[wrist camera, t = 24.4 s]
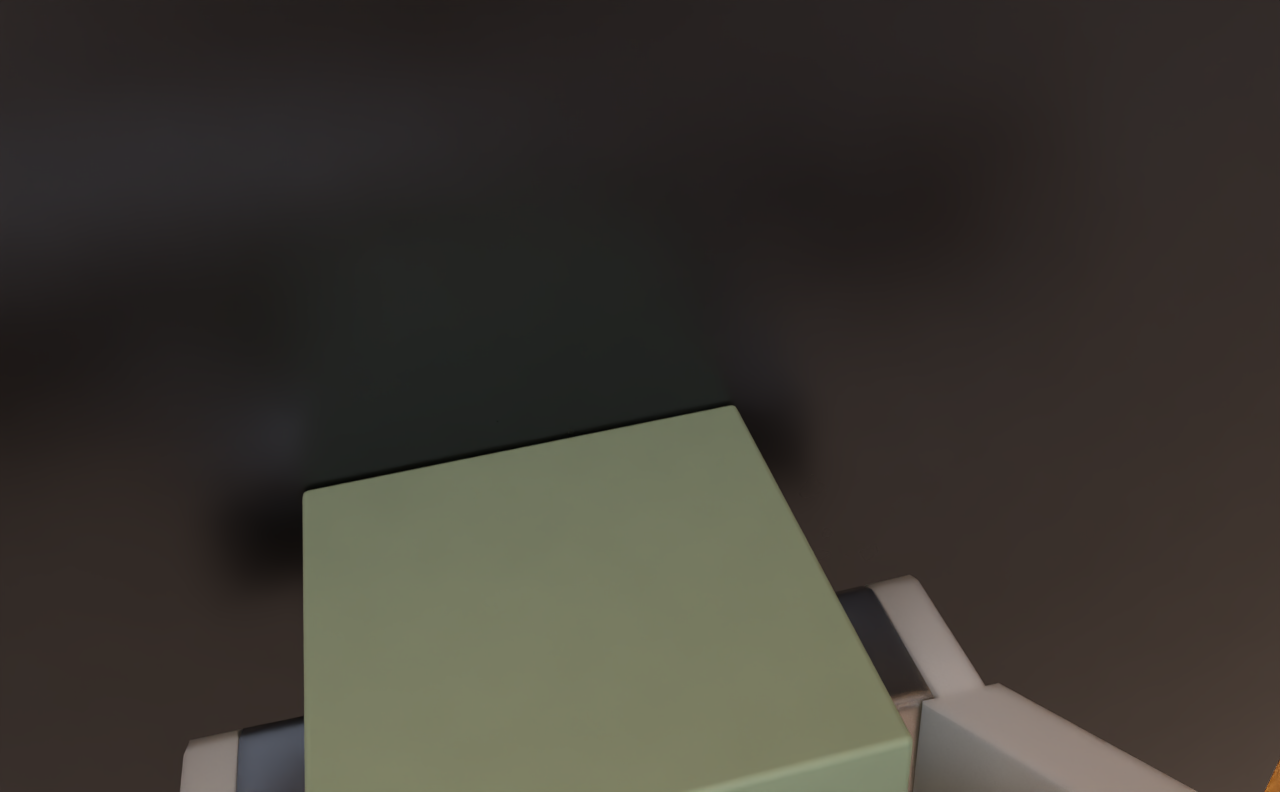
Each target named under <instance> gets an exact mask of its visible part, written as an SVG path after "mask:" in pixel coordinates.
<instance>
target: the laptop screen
mask: <svg viewBox="0 0 1280 792" xmlns="http://www.w3.org/2000/svg"><path fill="white" fill-rule="evenodd" d="M728 405H733V406H735V407H736V408H737V410H738V412H739V413H740V415H741V417H742V419H743V421H744V423H745V425H746V427H747V428H748V430H749V432H750V434H751V436H752V438H753V440H754V442H755V443H756V445H757V447H758V449H759V451H760V453H761V455H762V457H763V458H764V460H765V462H766V464H767V466H768V468H769V470H770V472H771V474H772V475H773V477H774V479H775V481H776V483H777V485H778V487H779V489H780V490H781V492H782V494H783V496H784V498H785V500H786V502H787V504H788V505H789V507H790V509H791V511H792V513H793V515H794V517H795V519H796V520H797V522H798V524H799V526H800V528H801V530H802V532H803V534H804V535H805V537H806V539H807V541H808V543H809V545H810V547H811V549H812V550H813V552H814V554H815V556H816V558H817V560H818V562H819V564H820V565H821V567H822V569H823V571H824V573H825V575H826V577H827V579H828V581H829V582H830V584H831V586H832V588H833V590H834V592H837V591H842V590H846V589H850V588H854V587H858V586H864V587H865V586H866V585H868V584H873V583H877V582H881V581H885V580H890V579H894V578H898V577H902V576H907V575H911V576H913V577H914V578H916V579H917V580H918V581H919V582H920V584H921V585H922V587H923V588H924V590H925V592H926V593H927V595H928V596H929V598H930V599H931V601H932V603H933V604H934V606H935V607H936V609H937V610H938V612H939V614H940V615H941V617H942V618H943V620H944V621H945V623H946V625H947V626H948V628H949V629H950V631H951V632H952V634H953V636H954V637H955V639H956V640H957V642H958V643H959V645H960V647H961V648H962V650H963V651H964V653H965V654H966V656H967V658H968V659H969V661H970V662H971V664H972V665H973V667H974V669H975V670H976V672H977V673H978V675H979V676H980V678H981V680H982V681H983V683H984V684H985V686H986V685H991V684H996V683H1000V684H1001V685H1003V686H1005V687H1007V688H1009V689H1011V690H1012V691H1014V692H1016V693H1018V694H1020V695H1022V696H1023V697H1025V698H1027V699H1029V700H1031V701H1033V702H1034V703H1036V704H1038V705H1040V706H1042V707H1043V708H1045V709H1047V710H1049V711H1051V712H1053V713H1054V714H1056V715H1058V716H1060V717H1062V718H1064V719H1065V720H1067V721H1069V722H1071V723H1073V724H1075V725H1076V726H1078V727H1080V728H1082V729H1084V730H1086V731H1087V732H1089V733H1091V734H1093V735H1095V736H1097V737H1098V738H1100V739H1102V740H1104V741H1106V742H1107V743H1109V744H1111V745H1113V746H1115V747H1117V748H1118V749H1120V750H1122V751H1124V752H1126V753H1128V754H1129V755H1131V756H1133V757H1135V758H1137V759H1139V760H1140V761H1142V762H1144V763H1146V764H1148V765H1150V766H1151V767H1153V768H1155V769H1157V770H1159V771H1160V772H1162V773H1164V774H1166V775H1168V776H1170V777H1171V778H1173V779H1175V780H1177V781H1179V782H1181V783H1182V784H1184V785H1186V786H1188V787H1190V788H1192V789H1193V790H1195V791H1197V792H1264V791H1265V789H1266V787H1267V785H1268V783H1269V781H1270V779H1271V777H1272V775H1273V772H1274V770H1275V768H1276V766H1277V764H1278V762H1279V760H1280V0H0V792H180V786H181V776H182V766H183V756H184V753H185V751H186V749H187V746H188V744H189V741H190V740H193V739H198V738H203V737H207V736H212V735H217V734H221V733H226V732H231V731H236V730H240V729H243V728H247V727H252V726H257V725H262V724H266V723H271V722H276V721H281V720H286V719H291V718H296V717H300V716H304V632H303V505H302V498H303V494H304V492H306V491H308V490H312V489H317V488H322V487H327V486H332V485H336V484H341V483H346V482H351V481H356V480H361V479H366V478H371V477H376V476H381V475H386V474H391V473H396V472H401V471H406V470H411V469H416V468H421V467H426V466H431V465H436V464H441V463H446V462H450V461H455V460H460V459H465V458H470V457H475V456H480V455H485V454H490V453H495V452H500V451H505V450H510V449H515V448H520V447H525V446H530V445H535V444H540V443H545V442H550V441H555V440H560V439H565V438H569V437H574V436H579V435H584V434H589V433H594V432H599V431H604V430H609V429H614V428H619V427H624V426H629V425H634V424H639V423H644V422H649V421H654V420H659V419H664V418H669V417H674V416H679V415H683V414H688V413H693V412H698V411H703V410H708V409H713V408H718V407H723V406H728Z"/></svg>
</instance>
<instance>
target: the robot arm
mask: <svg viewBox="0 0 1280 792" xmlns="http://www.w3.org/2000/svg"><path fill="white" fill-rule="evenodd" d="M835 594H836V596H837V597H838V599H839V601H840V603H841V605H842V607H843V609H844V611H845V612H846V614H847V616H848V618H849V620H850V622H851V624H852V626H853V627H854V629H855V631H856V633H857V635H858V637H859V639H860V641H861V642H862V644H863V646H864V648H865V650H866V652H867V654H868V656H869V657H870V659H871V661H872V663H873V665H874V667H875V669H876V671H877V673H878V674H879V676H880V678H881V680H882V682H883V684H884V686H885V688H886V689H887V691H888V693H889V695H890V697H891V699H892V701H893V703H894V704H895V706H896V708H897V710H898V712H899V714H900V716H901V718H902V719H903V721H904V723H905V725H906V727H907V729H908V731H909V733H910V734H911V736H912V739H913V746H912V756H911V765H910V775H909V785H908V792H1197V791H1195V790H1193V789H1192V788H1190V787H1188V786H1186V785H1184V784H1182V783H1181V782H1179V781H1177V780H1175V779H1173V778H1171V777H1170V776H1168V775H1166V774H1164V773H1162V772H1160V771H1159V770H1157V769H1155V768H1153V767H1151V766H1150V765H1148V764H1146V763H1144V762H1142V761H1140V760H1139V759H1137V758H1135V757H1133V756H1131V755H1129V754H1128V753H1126V752H1124V751H1122V750H1120V749H1118V748H1117V747H1115V746H1113V745H1111V744H1109V743H1107V742H1106V741H1104V740H1102V739H1100V738H1098V737H1097V736H1095V735H1093V734H1091V733H1089V732H1087V731H1086V730H1084V729H1082V728H1080V727H1078V726H1076V725H1075V724H1073V723H1071V722H1069V721H1067V720H1065V719H1064V718H1062V717H1060V716H1058V715H1056V714H1054V713H1053V712H1051V711H1049V710H1047V709H1045V708H1043V707H1042V706H1040V705H1038V704H1036V703H1034V702H1033V701H1031V700H1029V699H1027V698H1025V697H1023V696H1022V695H1020V694H1018V693H1016V692H1014V691H1012V690H1011V689H1009V688H1007V687H1005V686H1003V685H1001V684H1000V683H996V684H991V685H986V686H985V684H984V683H983V681H982V680H981V678H980V676H979V675H978V673H977V672H976V670H975V669H974V667H973V665H972V664H971V662H970V661H969V659H968V658H967V656H966V654H965V653H964V651H963V650H962V648H961V647H960V645H959V643H958V642H957V640H956V639H955V637H954V636H953V634H952V632H951V631H950V629H949V628H948V626H947V625H946V623H945V621H944V620H943V618H942V617H941V615H940V614H939V612H938V610H937V609H936V607H935V606H934V604H933V603H932V601H931V599H930V598H929V596H928V595H927V593H926V592H925V590H924V588H923V587H922V585H921V584H920V582H919V581H918V580H917V579H916V578H914V577H913V576H911V575H907V576H902V577H898V578H894V579H890V580H885V581H881V582H877V583H873V584H868V585H866V586H865V587H864V586H858V587H854V588H850V589H846V590H842V591H837V592H835ZM180 792H305V759H304V716H300V717H296V718H291V719H286V720H281V721H276V722H271V723H266V724H262V725H257V726H252V727H247V728H243V729H240V730H236V731H231V732H226V733H221V734H217V735H212V736H207V737H203V738H198V739H193V740H190V741H189V744H188V746H187V749H186V751H185V753H184V756H183V766H182V776H181V786H180Z"/></svg>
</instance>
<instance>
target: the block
mask: <svg viewBox="0 0 1280 792" xmlns="http://www.w3.org/2000/svg"><path fill="white" fill-rule="evenodd" d="M302 505H303V632H304V759H305V792H908V785H909V775H910V765H911V756H912V746H913V739H912V736H911V734H910V733H909V731H908V729H907V727H906V725H905V723H904V721H903V719H902V718H901V716H900V714H899V712H898V710H897V708H896V706H895V704H894V703H893V701H892V699H891V697H890V695H889V693H888V691H887V689H886V688H885V686H884V684H883V682H882V680H881V678H880V676H879V674H878V673H877V671H876V669H875V667H874V665H873V663H872V661H871V659H870V657H869V656H868V654H867V652H866V650H865V648H864V646H863V644H862V642H861V641H860V639H859V637H858V635H857V633H856V631H855V629H854V627H853V626H852V624H851V622H850V620H849V618H848V616H847V614H846V612H845V611H844V609H843V607H842V605H841V603H840V601H839V599H838V597H837V596H836V594H835V592H834V590H833V588H832V586H831V584H830V582H829V581H828V579H827V577H826V575H825V573H824V571H823V569H822V567H821V565H820V564H819V562H818V560H817V558H816V556H815V554H814V552H813V550H812V549H811V547H810V545H809V543H808V541H807V539H806V537H805V535H804V534H803V532H802V530H801V528H800V526H799V524H798V522H797V520H796V519H795V517H794V515H793V513H792V511H791V509H790V507H789V505H788V504H787V502H786V500H785V498H784V496H783V494H782V492H781V490H780V489H779V487H778V485H777V483H776V481H775V479H774V477H773V475H772V474H771V472H770V470H769V468H768V466H767V464H766V462H765V460H764V458H763V457H762V455H761V453H760V451H759V449H758V447H757V445H756V443H755V442H754V440H753V438H752V436H751V434H750V432H749V430H748V428H747V427H746V425H745V423H744V421H743V419H742V417H741V415H740V413H739V412H738V410H737V408H736V407H735V406H733V405H728V406H723V407H718V408H713V409H708V410H703V411H698V412H693V413H688V414H683V415H679V416H674V417H669V418H664V419H659V420H654V421H649V422H644V423H639V424H634V425H629V426H624V427H619V428H614V429H609V430H604V431H599V432H594V433H589V434H584V435H579V436H574V437H569V438H565V439H560V440H555V441H550V442H545V443H540V444H535V445H530V446H525V447H520V448H515V449H510V450H505V451H500V452H495V453H490V454H485V455H480V456H475V457H470V458H465V459H460V460H455V461H450V462H446V463H441V464H436V465H431V466H426V467H421V468H416V469H411V470H406V471H401V472H396V473H391V474H386V475H381V476H376V477H371V478H366V479H361V480H356V481H351V482H346V483H341V484H336V485H332V486H327V487H322V488H317V489H312V490H308V491H306V492H304V494H303V498H302Z"/></svg>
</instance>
